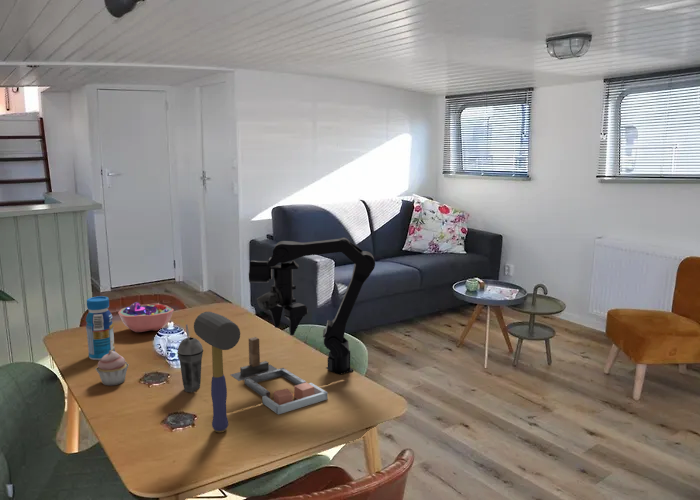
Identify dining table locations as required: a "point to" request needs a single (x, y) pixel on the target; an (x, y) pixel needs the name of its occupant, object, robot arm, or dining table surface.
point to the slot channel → (253, 380)
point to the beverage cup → (190, 362)
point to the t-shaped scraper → (254, 359)
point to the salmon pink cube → (303, 390)
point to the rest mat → (239, 377)
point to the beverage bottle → (99, 327)
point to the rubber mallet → (217, 359)
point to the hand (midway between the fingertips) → (284, 331)
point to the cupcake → (112, 368)
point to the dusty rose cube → (283, 396)
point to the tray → (296, 401)
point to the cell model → (145, 316)
